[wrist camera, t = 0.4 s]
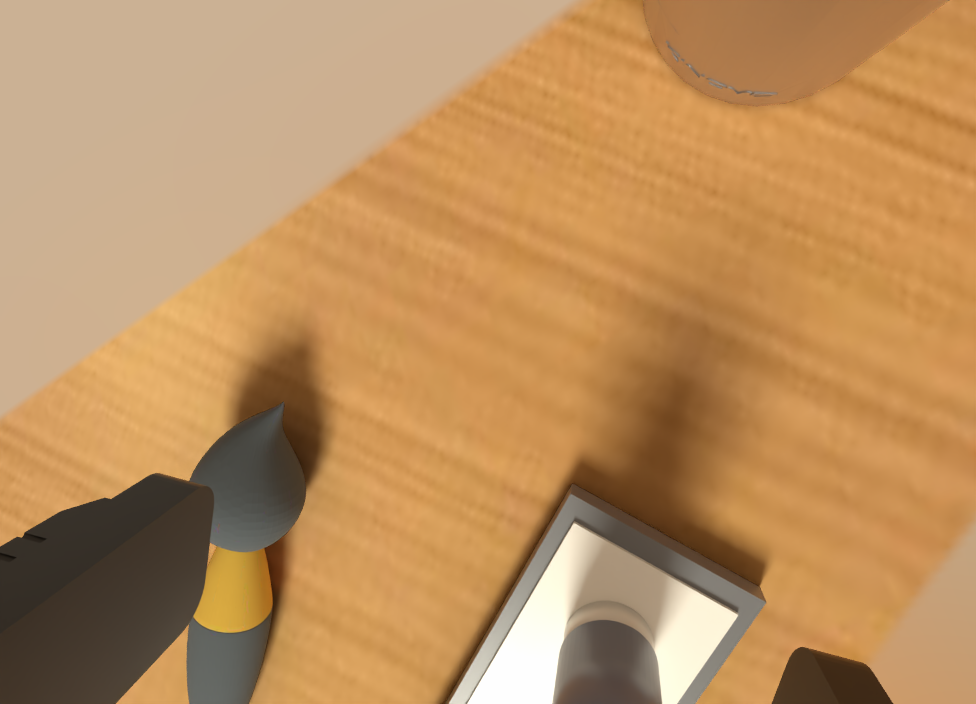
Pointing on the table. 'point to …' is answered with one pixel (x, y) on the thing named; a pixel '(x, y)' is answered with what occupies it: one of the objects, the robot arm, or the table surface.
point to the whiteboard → (609, 577)
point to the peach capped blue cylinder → (607, 658)
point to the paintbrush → (241, 555)
